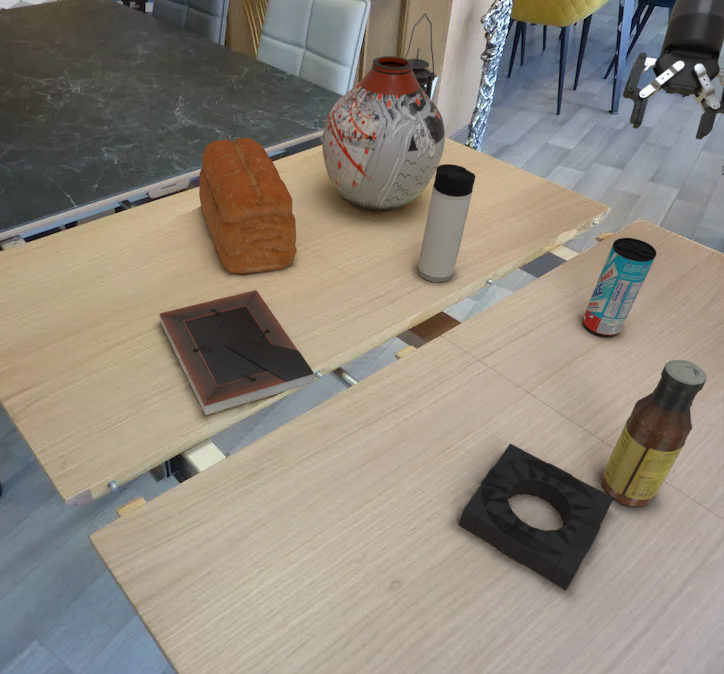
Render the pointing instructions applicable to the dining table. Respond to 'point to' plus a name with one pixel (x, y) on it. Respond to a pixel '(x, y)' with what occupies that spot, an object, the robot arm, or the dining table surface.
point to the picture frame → (234, 351)
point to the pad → (523, 542)
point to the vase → (383, 138)
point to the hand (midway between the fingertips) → (668, 131)
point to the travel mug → (445, 222)
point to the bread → (246, 207)
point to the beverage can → (618, 286)
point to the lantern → (423, 66)
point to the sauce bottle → (653, 435)
